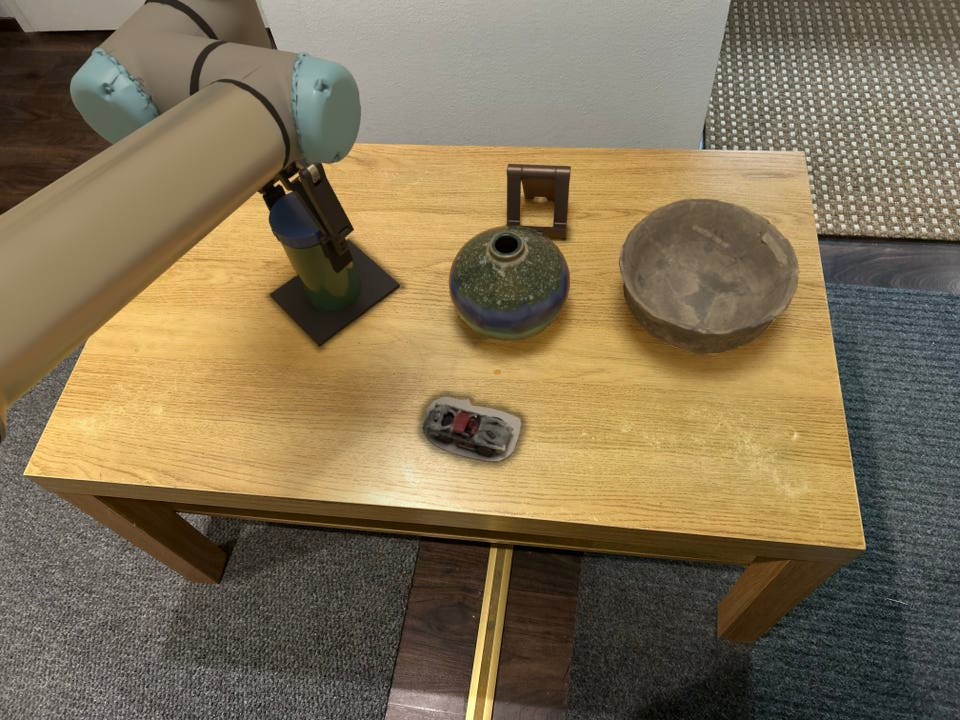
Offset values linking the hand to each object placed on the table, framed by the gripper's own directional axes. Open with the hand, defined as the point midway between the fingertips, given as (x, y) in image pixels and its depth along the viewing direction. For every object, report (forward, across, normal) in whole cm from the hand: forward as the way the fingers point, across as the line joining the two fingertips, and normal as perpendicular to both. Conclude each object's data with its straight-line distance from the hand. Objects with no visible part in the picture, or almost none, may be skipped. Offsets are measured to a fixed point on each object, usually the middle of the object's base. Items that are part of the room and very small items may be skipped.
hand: (315, 246), depth 88 cm
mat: (+10, 0, 0) cm, 10 cm away
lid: (-6, 0, 0) cm, 6 cm away
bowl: (+10, -40, -27) cm, 50 cm away
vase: (+10, -22, -13) cm, 27 cm away
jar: (+9, 0, 0) cm, 9 cm away
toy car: (+10, -29, +4) cm, 31 cm away
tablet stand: (+10, -14, -28) cm, 33 cm away
